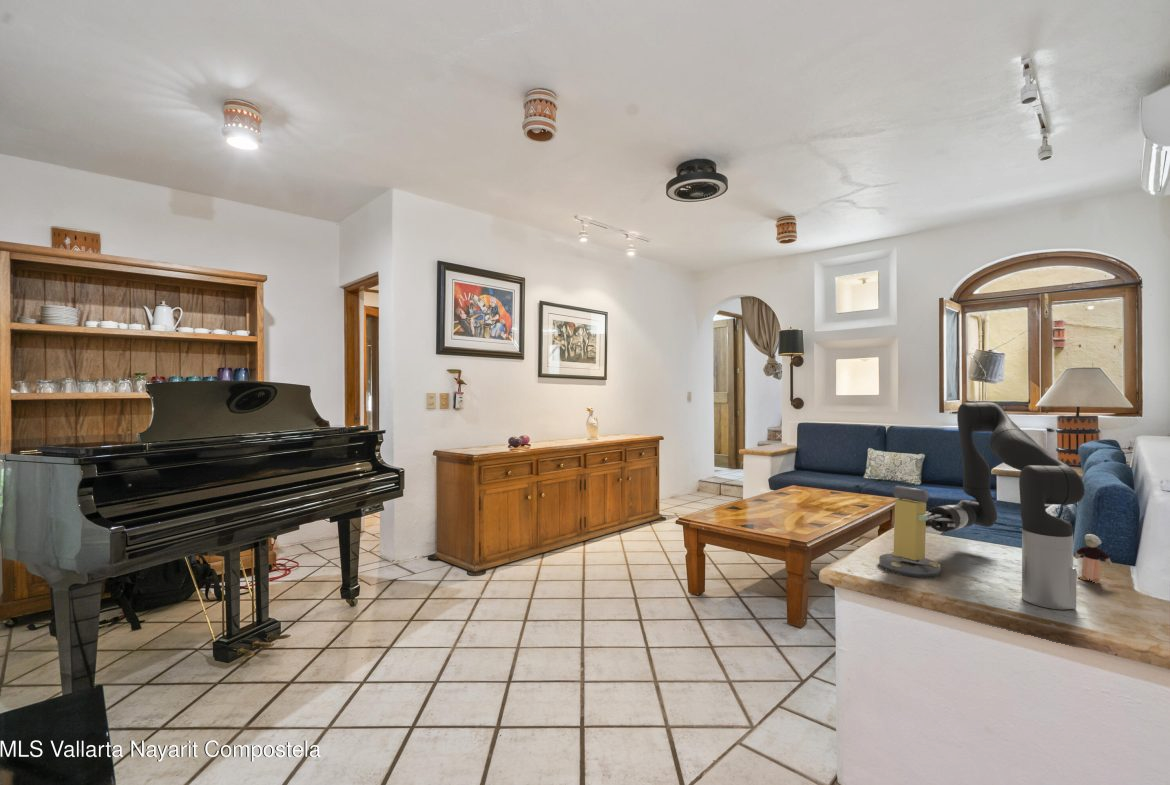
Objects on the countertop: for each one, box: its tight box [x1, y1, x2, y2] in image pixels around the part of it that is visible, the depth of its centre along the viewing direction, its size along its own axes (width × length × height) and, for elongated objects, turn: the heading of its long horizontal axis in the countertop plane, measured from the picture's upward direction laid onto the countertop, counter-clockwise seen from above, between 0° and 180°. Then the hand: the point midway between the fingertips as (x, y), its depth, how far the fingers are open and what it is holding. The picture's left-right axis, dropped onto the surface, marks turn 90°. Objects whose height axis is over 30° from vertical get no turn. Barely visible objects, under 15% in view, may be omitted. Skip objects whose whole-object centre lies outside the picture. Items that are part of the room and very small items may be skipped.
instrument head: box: [892, 485, 930, 562], centre depth 153 cm, size 5×8×21 cm, turn 29°
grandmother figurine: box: [1073, 533, 1113, 584], centre depth 143 cm, size 8×4×13 cm, turn 37°
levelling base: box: [878, 551, 941, 579], centre depth 153 cm, size 15×15×2 cm
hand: (914, 523), depth 154 cm, fingers closed
